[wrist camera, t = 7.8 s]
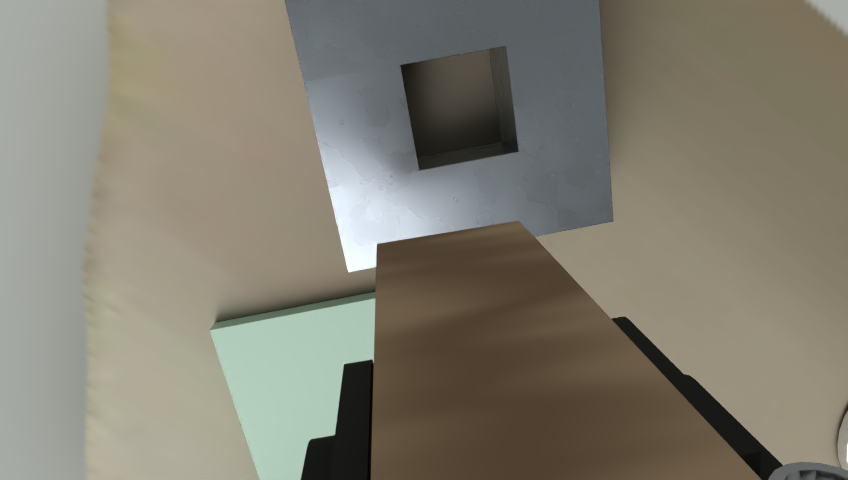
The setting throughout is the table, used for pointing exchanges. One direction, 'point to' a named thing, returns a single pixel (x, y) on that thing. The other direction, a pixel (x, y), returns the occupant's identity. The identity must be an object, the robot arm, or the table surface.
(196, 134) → the table surface
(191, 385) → the table surface
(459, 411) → the walnut peg
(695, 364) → the table surface
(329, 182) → the hole block
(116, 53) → the table surface
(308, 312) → the green pad
